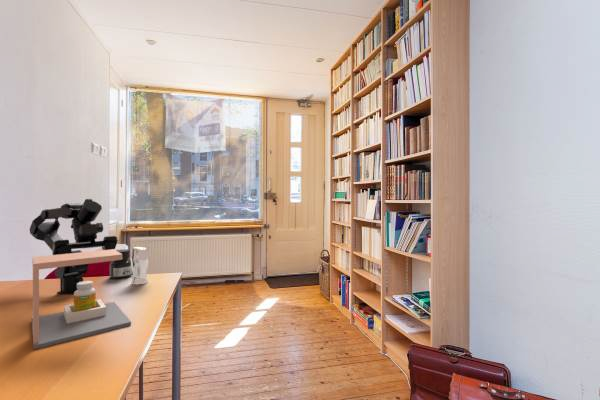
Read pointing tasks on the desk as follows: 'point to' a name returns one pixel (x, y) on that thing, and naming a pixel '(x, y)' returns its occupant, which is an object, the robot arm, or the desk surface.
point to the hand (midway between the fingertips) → (90, 264)
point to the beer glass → (139, 264)
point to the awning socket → (70, 322)
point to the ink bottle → (121, 266)
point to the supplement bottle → (84, 296)
